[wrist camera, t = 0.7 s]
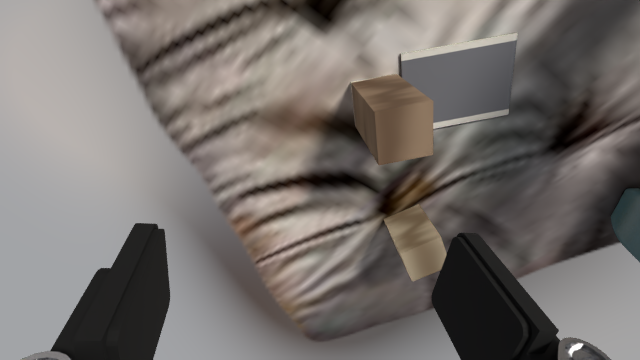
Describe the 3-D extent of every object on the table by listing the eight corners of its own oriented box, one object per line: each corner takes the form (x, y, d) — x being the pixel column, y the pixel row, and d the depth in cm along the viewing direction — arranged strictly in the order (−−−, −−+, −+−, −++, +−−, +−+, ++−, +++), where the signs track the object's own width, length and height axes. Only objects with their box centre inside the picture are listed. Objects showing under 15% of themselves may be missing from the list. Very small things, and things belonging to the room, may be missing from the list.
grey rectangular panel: (515, 32, 38) (517, 33, 38) (506, 113, 43) (508, 114, 42) (400, 53, 38) (401, 54, 37) (403, 133, 42) (404, 134, 42)
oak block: (418, 204, 48) (441, 236, 41) (428, 231, 50) (450, 266, 44) (383, 219, 48) (400, 253, 42) (394, 245, 50) (412, 281, 44)
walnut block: (396, 73, 39) (433, 100, 30) (398, 117, 41) (433, 154, 33) (350, 82, 39) (374, 112, 30) (355, 125, 41) (378, 165, 32)
